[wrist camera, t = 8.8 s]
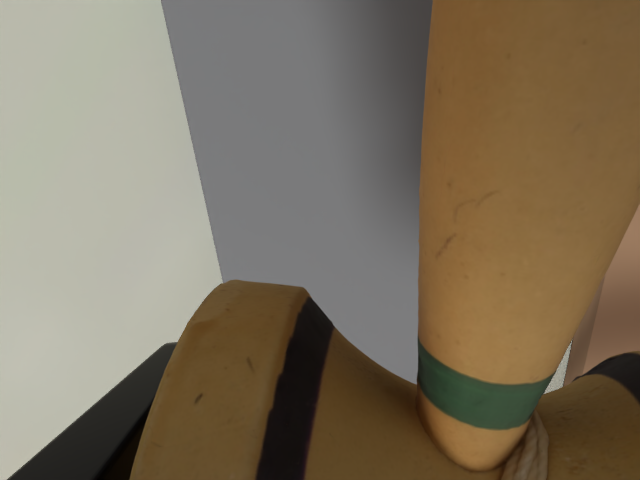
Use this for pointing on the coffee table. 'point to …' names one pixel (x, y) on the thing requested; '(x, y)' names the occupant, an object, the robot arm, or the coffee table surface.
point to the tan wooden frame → (611, 310)
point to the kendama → (449, 286)
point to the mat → (313, 152)
